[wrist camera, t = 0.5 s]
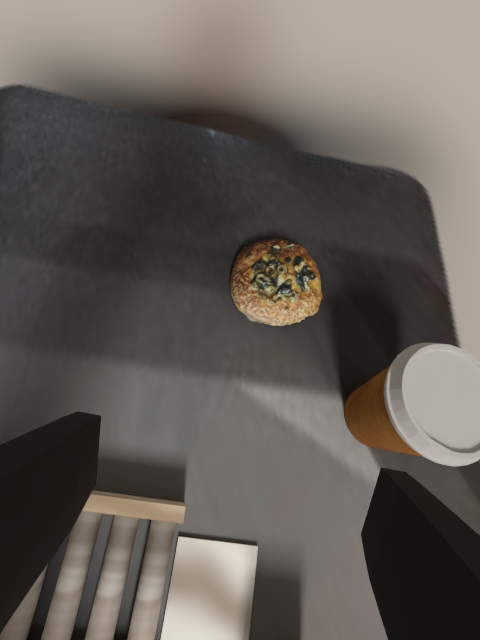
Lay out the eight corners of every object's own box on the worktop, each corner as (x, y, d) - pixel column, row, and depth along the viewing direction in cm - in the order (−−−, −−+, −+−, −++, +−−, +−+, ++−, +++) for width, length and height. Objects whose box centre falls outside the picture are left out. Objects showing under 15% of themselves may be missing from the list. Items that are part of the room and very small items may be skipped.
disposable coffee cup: (355, 480, 35) (440, 489, 24) (314, 389, 38) (373, 359, 27) (429, 443, 38) (535, 436, 27) (386, 360, 40) (466, 323, 29)
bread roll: (263, 228, 44) (278, 206, 39) (330, 287, 44) (352, 272, 40) (206, 289, 40) (215, 272, 36) (279, 353, 41) (297, 345, 36)
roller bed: (241, 705, 27) (249, 735, 24) (-210, 673, 24) (-264, 703, 21) (260, 512, 32) (269, 517, 30) (-109, 462, 29) (-141, 463, 26)
